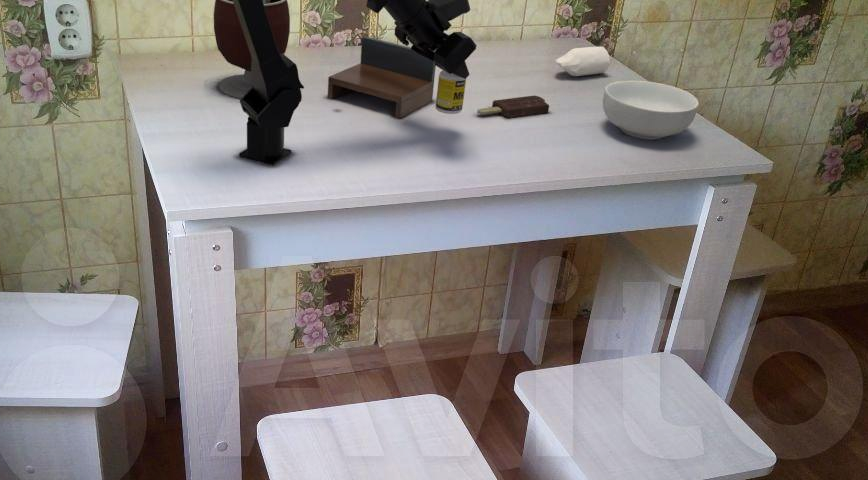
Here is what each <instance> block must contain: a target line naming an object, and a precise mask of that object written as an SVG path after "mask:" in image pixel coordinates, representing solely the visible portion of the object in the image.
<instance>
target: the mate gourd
mask: <svg viewBox="0 0 868 480" xmlns="http://www.w3.org/2000/svg"><path fill="white" fill-rule="evenodd" d="M263 3H264V7H265V10H266V13H267V16H268V19H269V22H270V25H271V29H272V32H273V35H274V38H275V41H276V44H277V48H278V51H279V54H281V53H283V54H284V55H285V53H286V51H287V48H288V44H289V38H290V32H291V16H290V8H289V3H288V0H263ZM213 32H214V36H215V37H214V38H215V44H216V47H217V50H218V51H219V53H220V54H221V55H222V57H223V58H224V60H225V61H226V63H228V64H229V65H232V66H235V67H237V68H240V69H242V70H244V73H243V74H242V73H241V74H235V75H231V76H228V77H225V78H223V79H222V80H221V81H220V82H219V90H220V91H221V92H222V93H223V94H225V95H227V96H230V97H233V98H236V99H241V98H242V97H243V96H244V95H245V94H246V93H247V91H248V90H249V89H250V88H251V87H252V86H253V82H252V76H251V63H252V58H251V53H250V50H249V47H248V44H247V42H246V39H245V36H244V33H243V30H242V27H241V24H240V21H239V18H238V15H237V12H236V9H235V6H234V3H233V0H215V1H214V8H213Z"/></svg>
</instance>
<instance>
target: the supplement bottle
mask: <svg viewBox="0 0 868 480" xmlns="http://www.w3.org/2000/svg"><path fill="white" fill-rule="evenodd" d="M465 63H466V64H467V62H466V61H465ZM466 84H467V78H466V79H464V78H461V77H459V76H457V75H455V74H449V73H447V72H445V71H444V70H440V72H439V74H438V81H437V90H436V97H435V98H436V99H435V106H434V107H435V110H436V111H437V112H438V113H439V112H440V113H443V114H447V115H457V114H460V113H461V112H462V111H463V106H464V98H465V91H466V86H467V85H466Z"/></svg>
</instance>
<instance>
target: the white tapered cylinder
mask: <svg viewBox="0 0 868 480" xmlns="http://www.w3.org/2000/svg"><path fill="white" fill-rule="evenodd" d="M555 62H556V64H557V65H558V66H559V68H561V69H563V70H564V71H565V72H566V73H567V74H569V76H572V77H583V76H591V75H599V74H604V73H605V72H606V71H608V70H609V68H610V65H611V57H610V54H609V52H608V50H607V49H606V48H605V47H604V46H587V47H575V48H572V49H570V50H569V51H567V52H566V53H564V54H563V55H562V56H560V57H558V58H556V59H555Z"/></svg>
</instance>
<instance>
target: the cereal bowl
mask: <svg viewBox="0 0 868 480" xmlns="http://www.w3.org/2000/svg"><path fill="white" fill-rule="evenodd" d="M602 109H603V112H604V115H605V116H606V118H607V119H608V120H609V121H610V122H611V123H612V124H613V125H614V126H616V127H618V128H619V129H620V130H621V131H622V132H623V133H624V134H626V135H627V136H629V137H632V138H637V139H640V140H641V139H642V140H649V141H650V140H652V141H653V140H659V139H663V138H665V137H670V136H674V135H677V134H680V133H682V132H683V131H685V130H686V129H687V128H688V127H690V125H691V124H692V123H693V122H694V120H695V117H696V115H697V113H698V109H699V100H698V98H697V97H696V96H695V95H693V94H691V93H690V92H688V91H686V90H685V89H682V88H679V87H677V86H673V85H669V84H665V83H660V82H654V81H646V80H631V79H629V80H619V81H613V82H611V83H608V84H607V85H606V86H605V88H604V92H603V97H602Z"/></svg>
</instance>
